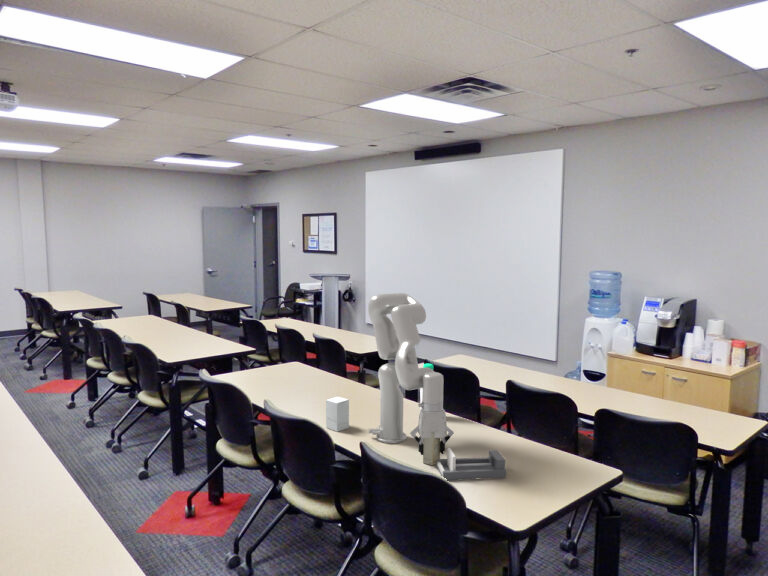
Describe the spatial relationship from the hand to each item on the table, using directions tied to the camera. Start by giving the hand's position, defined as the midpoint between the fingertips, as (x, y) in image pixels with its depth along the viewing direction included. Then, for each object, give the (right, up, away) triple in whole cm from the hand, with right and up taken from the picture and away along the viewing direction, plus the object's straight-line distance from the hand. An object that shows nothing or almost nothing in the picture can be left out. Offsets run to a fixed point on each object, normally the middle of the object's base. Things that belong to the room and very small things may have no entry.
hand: (431, 452), depth 190 cm
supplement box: (-38, 0, +34) cm, 51 cm away
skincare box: (0, -4, 0) cm, 4 cm away
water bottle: (+3, +1, +50) cm, 50 cm away
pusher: (+13, -3, -8) cm, 16 cm away
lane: (+13, -4, -8) cm, 16 cm away
